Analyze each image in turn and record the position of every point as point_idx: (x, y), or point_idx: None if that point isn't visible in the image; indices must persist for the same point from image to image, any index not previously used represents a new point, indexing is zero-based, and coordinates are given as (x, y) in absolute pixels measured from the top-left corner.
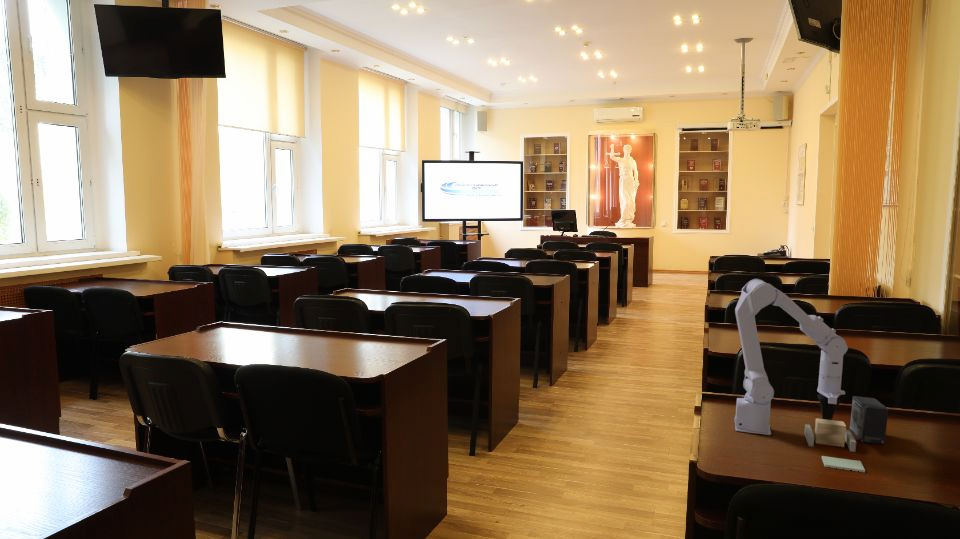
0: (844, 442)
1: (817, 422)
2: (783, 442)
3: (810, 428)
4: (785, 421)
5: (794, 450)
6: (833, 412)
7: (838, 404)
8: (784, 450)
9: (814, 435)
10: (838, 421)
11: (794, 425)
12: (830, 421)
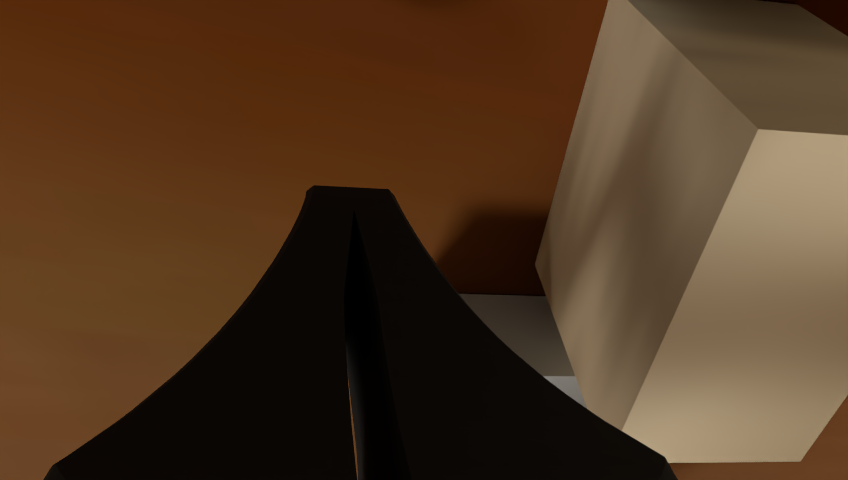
0: (832, 29)
1: (777, 460)
2: (673, 467)
3: (564, 382)
4: (68, 429)
5: (841, 423)
6: (460, 302)
7: (635, 441)
8: (833, 470)
9: (548, 288)
10: (746, 215)
11: (164, 375)
12: (744, 326)
